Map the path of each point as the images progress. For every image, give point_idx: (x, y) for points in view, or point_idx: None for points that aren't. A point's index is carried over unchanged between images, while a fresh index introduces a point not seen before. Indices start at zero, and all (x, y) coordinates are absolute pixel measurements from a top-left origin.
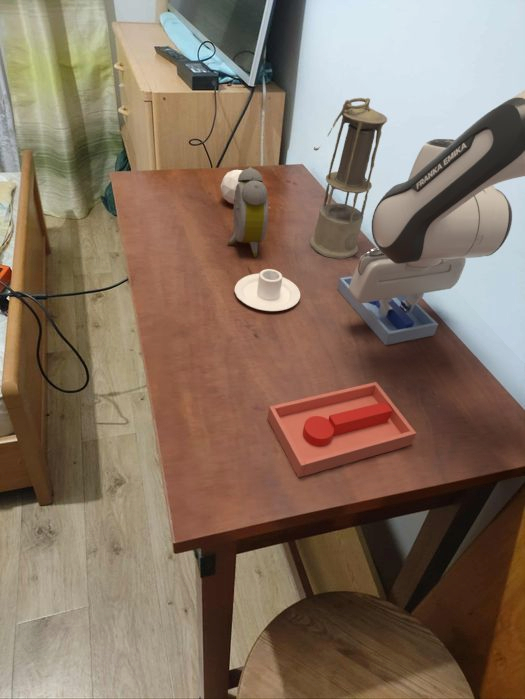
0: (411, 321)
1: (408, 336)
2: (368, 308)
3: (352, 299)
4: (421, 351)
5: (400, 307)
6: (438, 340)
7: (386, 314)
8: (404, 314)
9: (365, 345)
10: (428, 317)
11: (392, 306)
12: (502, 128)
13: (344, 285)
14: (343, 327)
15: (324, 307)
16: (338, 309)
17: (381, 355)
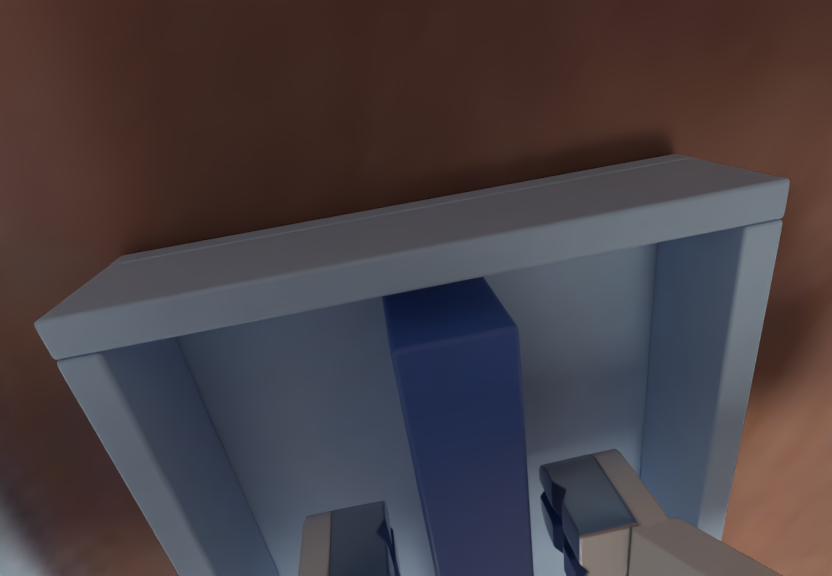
0: (427, 363)
1: (455, 209)
2: (711, 533)
3: None
4: (359, 11)
5: (398, 562)
6: (86, 177)
7: (611, 471)
8: (447, 472)
9: (829, 170)
10: (143, 443)
11: (507, 568)
12: None
13: None
14: (828, 375)
15: (799, 535)
16: (735, 525)
17: (797, 9)
